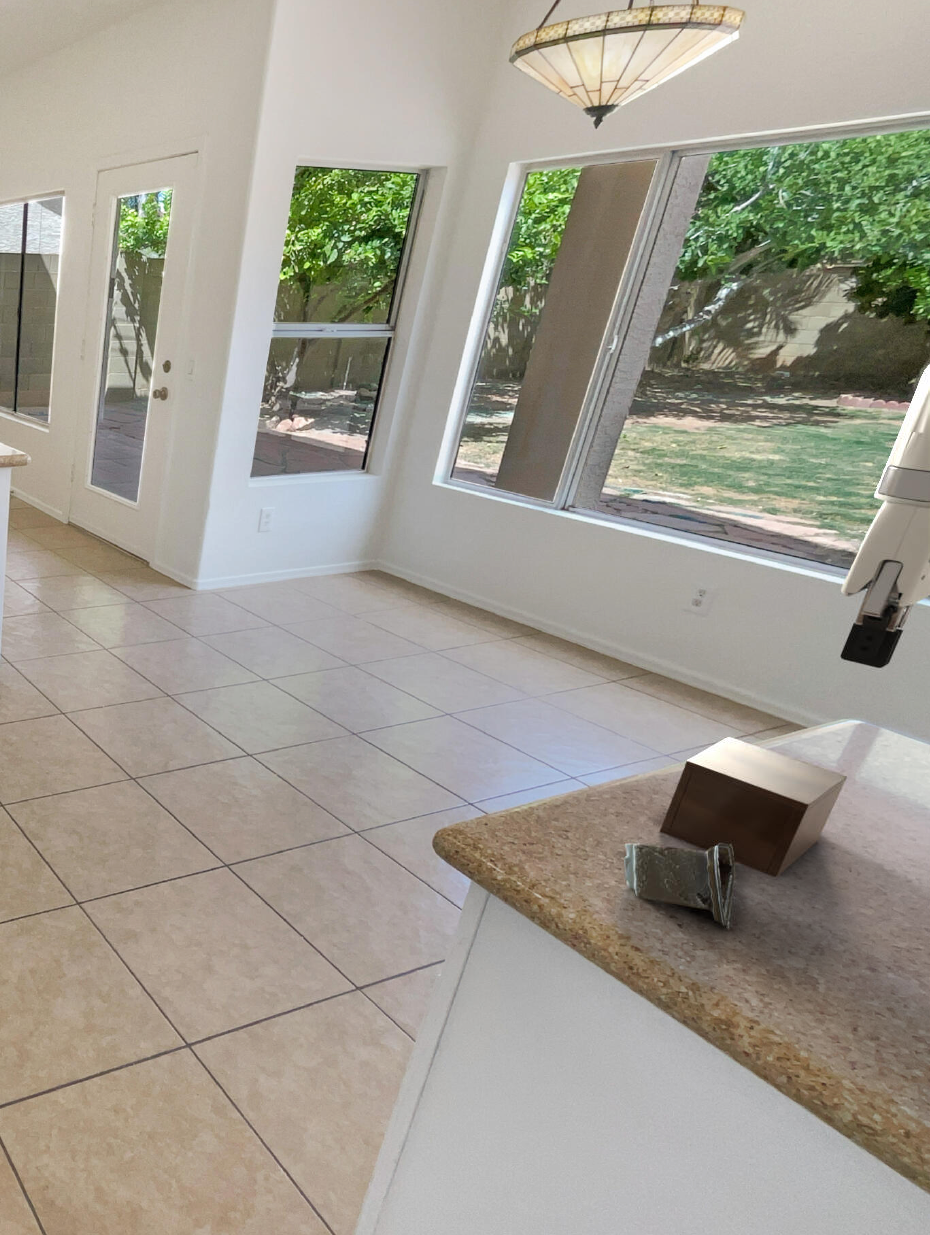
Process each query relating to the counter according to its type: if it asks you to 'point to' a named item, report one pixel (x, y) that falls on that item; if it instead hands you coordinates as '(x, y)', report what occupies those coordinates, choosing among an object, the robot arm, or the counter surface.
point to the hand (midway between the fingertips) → (863, 661)
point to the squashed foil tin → (683, 876)
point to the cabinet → (752, 804)
